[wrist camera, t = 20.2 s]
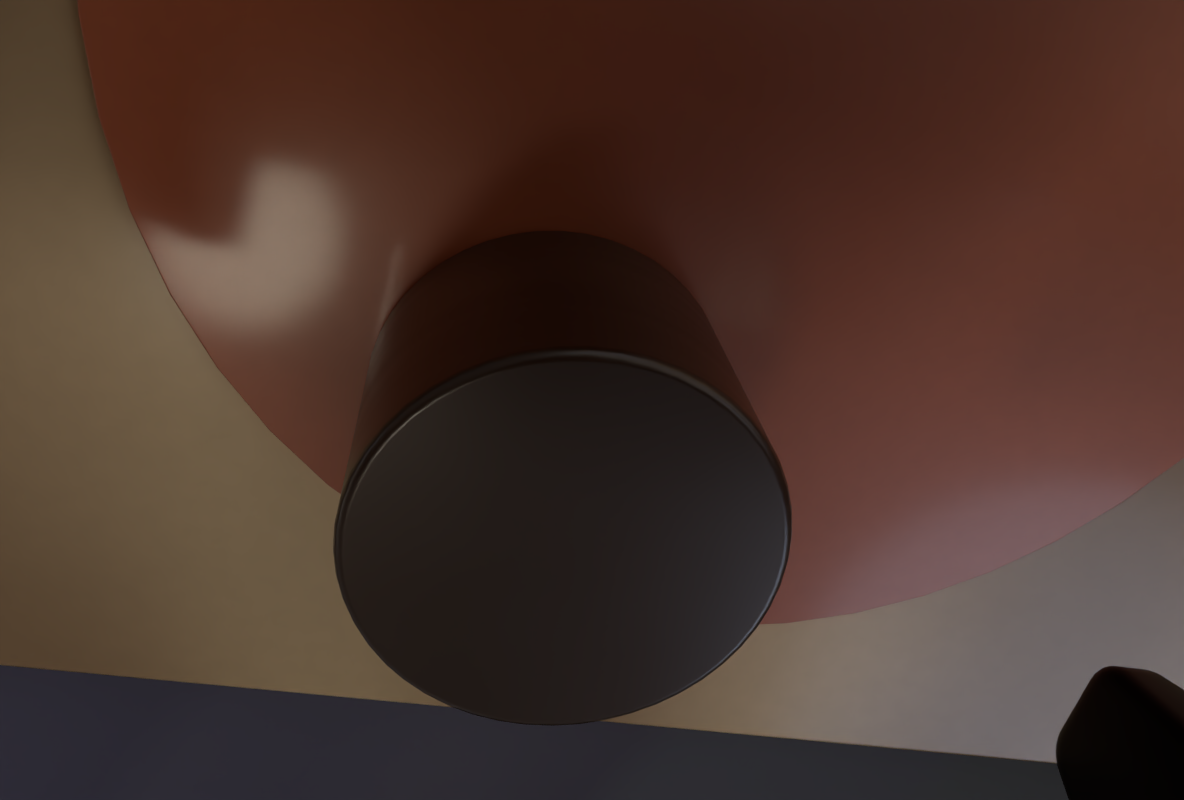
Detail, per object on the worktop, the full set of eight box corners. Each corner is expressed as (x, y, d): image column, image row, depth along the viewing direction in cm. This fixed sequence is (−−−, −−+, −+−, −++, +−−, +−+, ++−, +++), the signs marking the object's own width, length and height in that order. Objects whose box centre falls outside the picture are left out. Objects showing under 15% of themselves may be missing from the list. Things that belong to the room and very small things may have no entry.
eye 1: (767, 265, 11) (859, 392, 8) (671, 562, 13) (722, 746, 10) (392, 194, 10) (362, 310, 7) (346, 521, 12) (308, 709, 9)
